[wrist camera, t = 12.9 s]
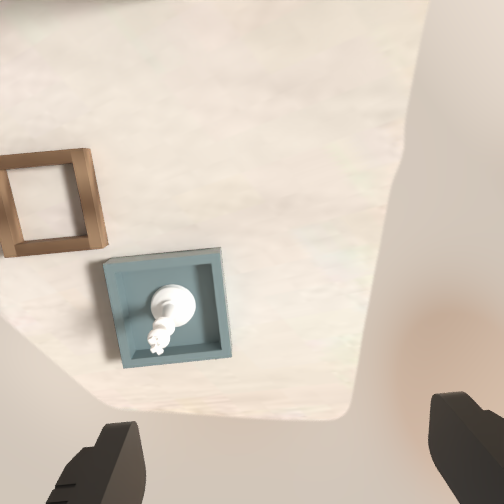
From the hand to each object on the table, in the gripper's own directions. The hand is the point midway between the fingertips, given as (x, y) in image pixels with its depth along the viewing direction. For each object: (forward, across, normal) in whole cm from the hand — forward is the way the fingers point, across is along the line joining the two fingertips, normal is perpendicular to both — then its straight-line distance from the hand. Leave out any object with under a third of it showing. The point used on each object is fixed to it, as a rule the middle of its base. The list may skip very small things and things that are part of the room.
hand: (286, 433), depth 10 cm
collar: (+30, +20, -4) cm, 37 cm away
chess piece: (+30, +9, +8) cm, 32 cm away
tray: (+30, +9, +8) cm, 33 cm away
